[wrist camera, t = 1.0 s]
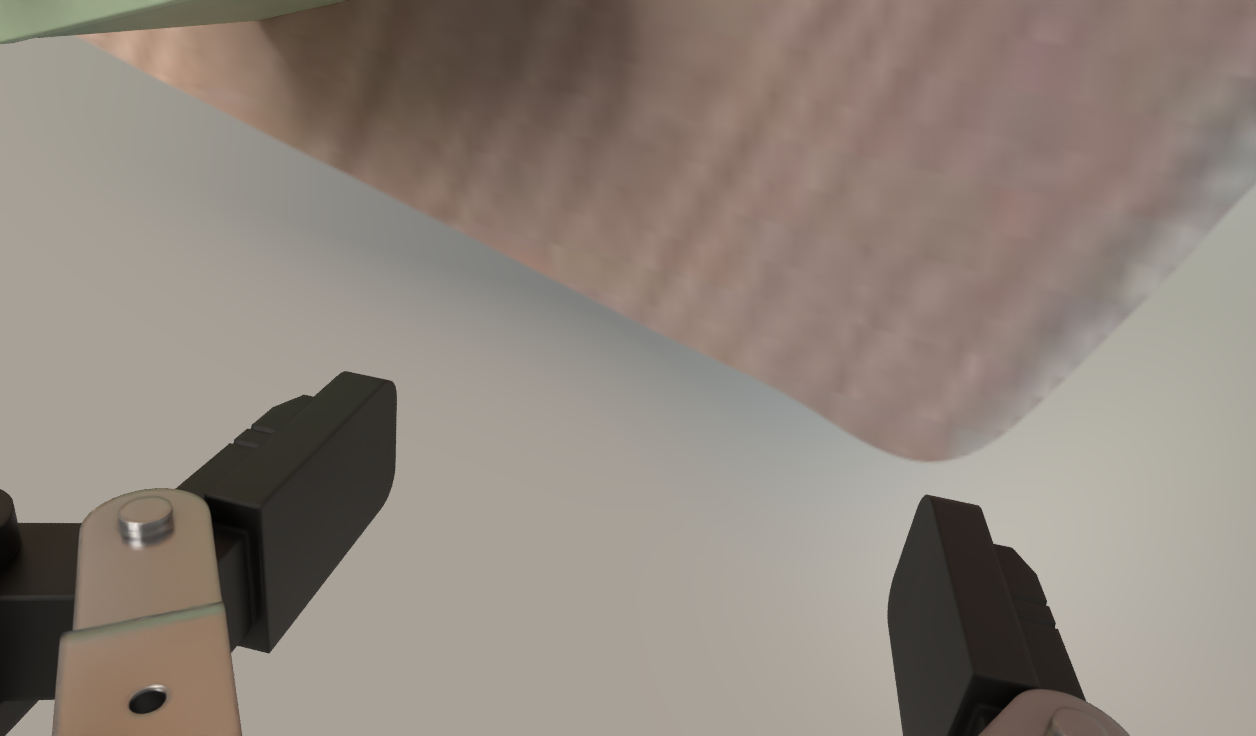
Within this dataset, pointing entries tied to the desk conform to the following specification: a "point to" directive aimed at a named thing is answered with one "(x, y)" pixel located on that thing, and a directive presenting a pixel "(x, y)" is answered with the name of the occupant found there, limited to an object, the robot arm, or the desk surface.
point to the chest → (198, 15)
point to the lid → (64, 15)
